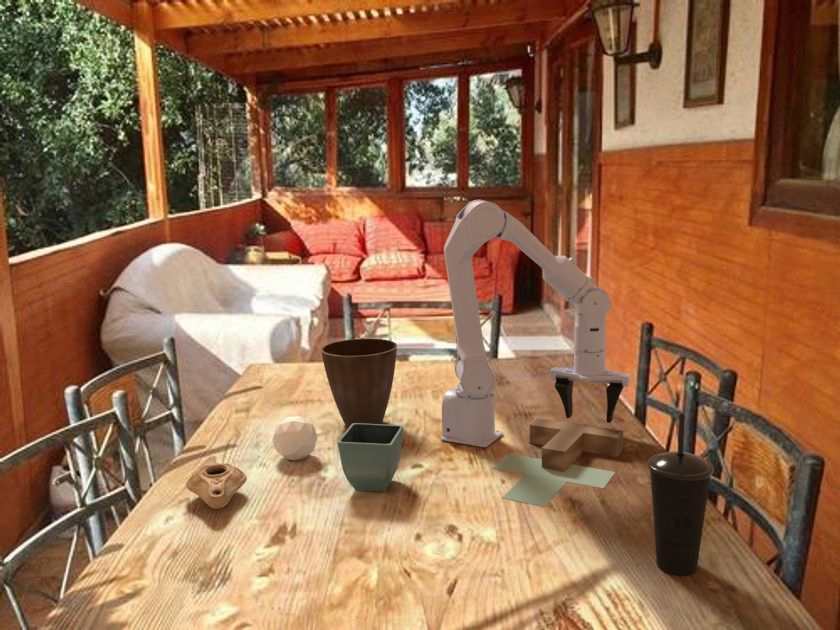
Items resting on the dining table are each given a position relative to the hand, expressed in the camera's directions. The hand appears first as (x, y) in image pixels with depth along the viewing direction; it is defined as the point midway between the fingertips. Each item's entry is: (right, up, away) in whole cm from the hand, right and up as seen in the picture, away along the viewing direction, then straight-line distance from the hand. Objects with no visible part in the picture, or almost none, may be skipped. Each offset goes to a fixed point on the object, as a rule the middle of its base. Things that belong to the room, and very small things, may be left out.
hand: (589, 418), depth 142 cm
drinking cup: (0, -12, -47) cm, 48 cm away
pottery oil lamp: (-64, -10, -25) cm, 69 cm away
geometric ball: (-54, -6, -8) cm, 55 cm away
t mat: (-12, -7, -21) cm, 25 cm away
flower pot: (-39, -8, -20) cm, 45 cm away
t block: (-6, -5, -11) cm, 13 cm away
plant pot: (-43, -2, +9) cm, 44 cm away
